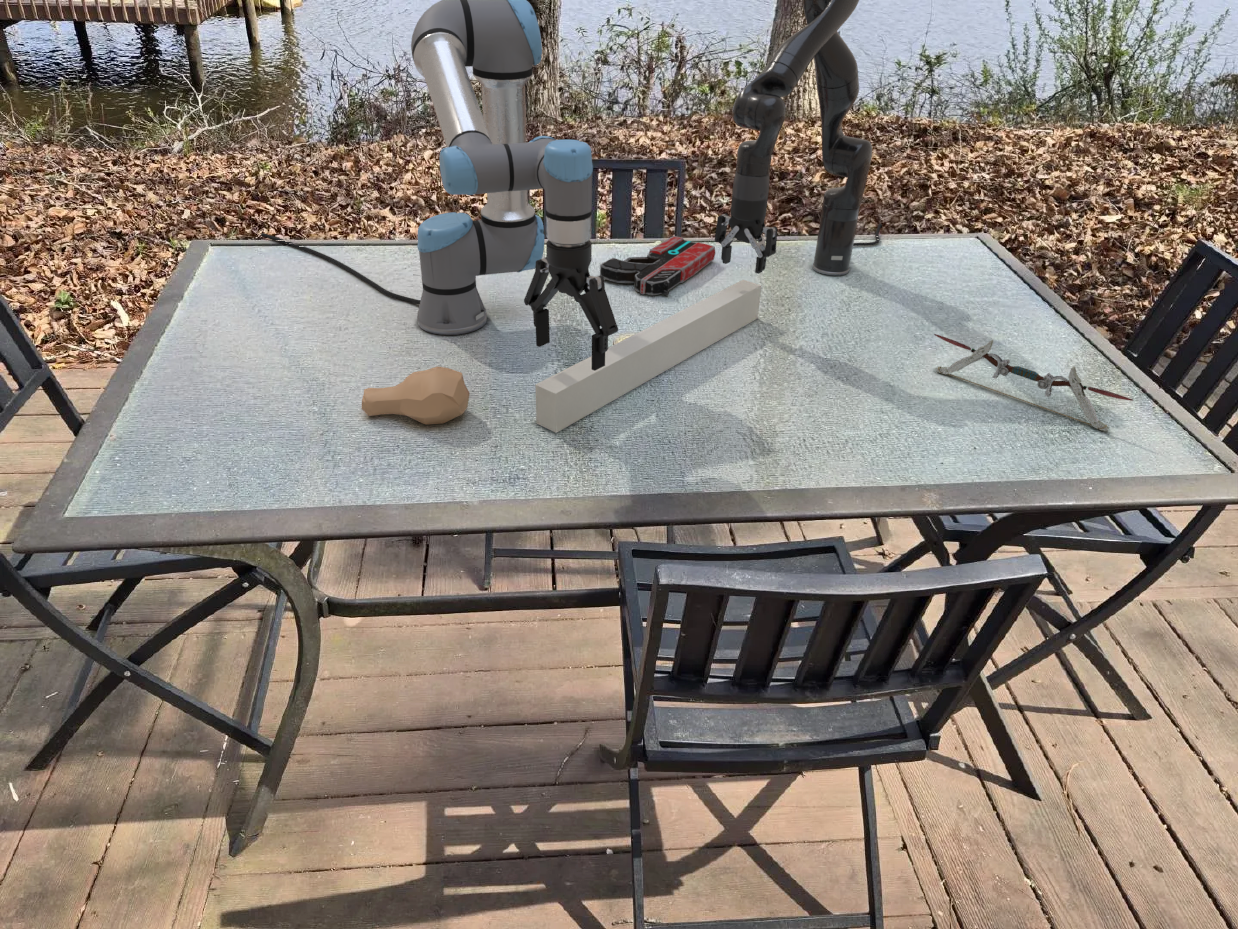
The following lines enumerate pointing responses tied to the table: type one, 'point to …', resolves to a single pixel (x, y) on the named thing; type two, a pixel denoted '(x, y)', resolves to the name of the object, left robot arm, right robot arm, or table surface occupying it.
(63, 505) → the table surface
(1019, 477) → the table surface
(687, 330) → the beam
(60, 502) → the table surface
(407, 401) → the squash
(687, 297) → the table surface
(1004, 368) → the bow
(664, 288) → the gun
